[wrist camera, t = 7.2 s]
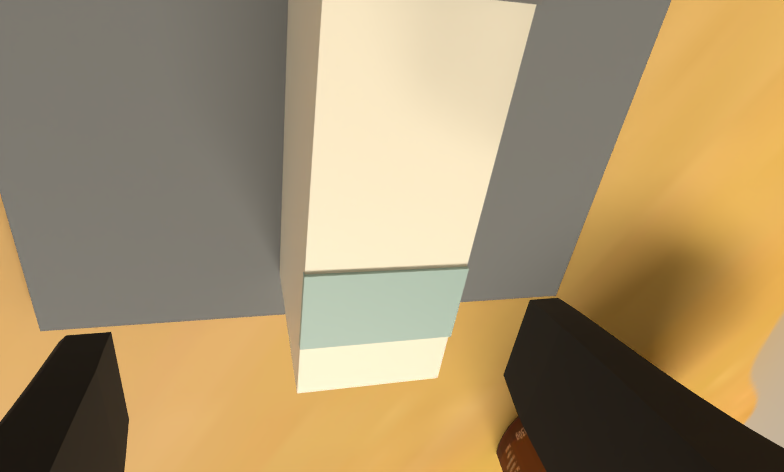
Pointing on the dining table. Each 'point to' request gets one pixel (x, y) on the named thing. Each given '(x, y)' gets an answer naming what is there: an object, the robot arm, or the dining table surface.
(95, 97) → the mat
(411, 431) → the dining table surface
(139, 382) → the dining table surface
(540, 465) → the food container
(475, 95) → the cream box
